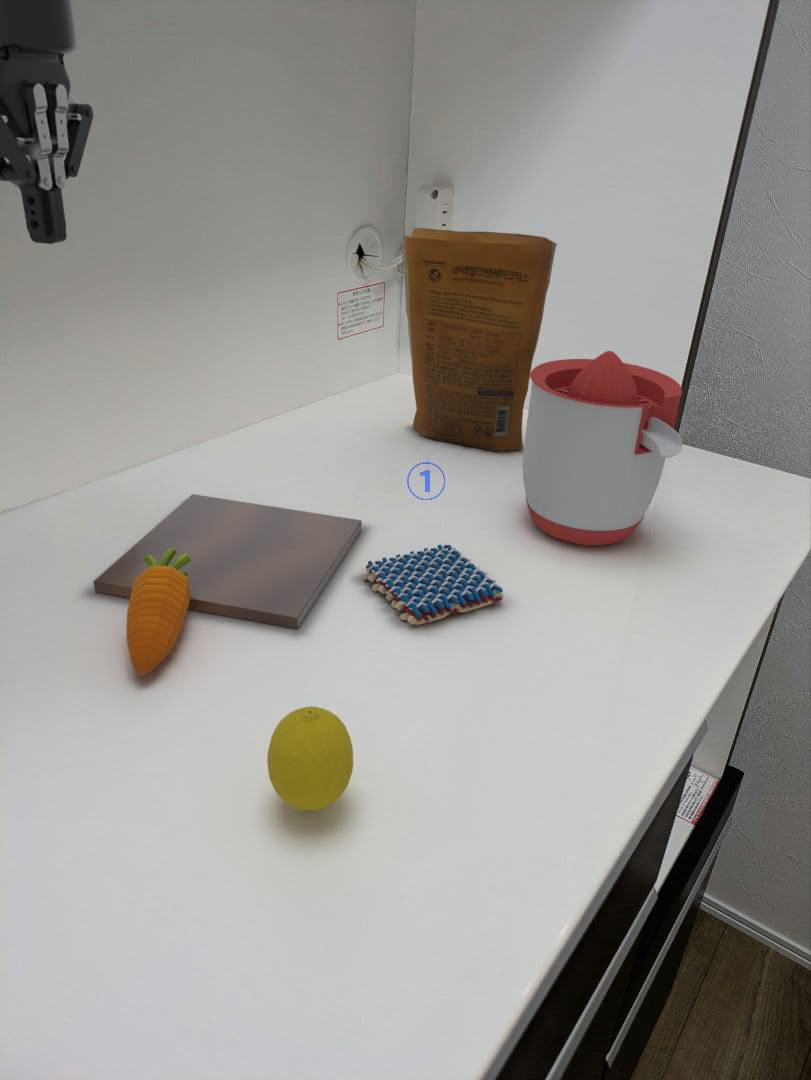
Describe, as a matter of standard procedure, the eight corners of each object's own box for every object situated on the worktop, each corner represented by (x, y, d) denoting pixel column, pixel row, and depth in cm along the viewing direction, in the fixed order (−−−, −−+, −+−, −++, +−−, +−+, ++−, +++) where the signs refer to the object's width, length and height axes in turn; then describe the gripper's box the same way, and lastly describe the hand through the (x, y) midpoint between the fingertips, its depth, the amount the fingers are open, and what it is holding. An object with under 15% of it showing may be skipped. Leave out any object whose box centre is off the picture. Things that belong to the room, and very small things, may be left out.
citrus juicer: (604, 580, 83) (640, 388, 74) (484, 515, 95) (502, 342, 86) (692, 538, 92) (735, 363, 83) (573, 483, 104) (598, 324, 95)
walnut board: (94, 592, 77) (93, 581, 77) (193, 503, 94) (192, 493, 94) (297, 629, 73) (297, 618, 73) (361, 529, 91) (361, 520, 90)
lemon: (252, 802, 55) (247, 709, 52) (317, 762, 59) (316, 672, 55) (304, 851, 52) (302, 755, 48) (369, 806, 56) (372, 714, 52)
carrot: (95, 662, 64) (133, 542, 75) (129, 702, 66) (160, 580, 78) (154, 644, 63) (182, 526, 75) (185, 686, 66) (208, 565, 78)
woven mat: (448, 555, 86) (449, 538, 85) (507, 605, 78) (509, 587, 77) (358, 576, 82) (359, 559, 81) (411, 632, 74) (412, 613, 73)
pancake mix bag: (523, 463, 109) (550, 240, 96) (391, 436, 116) (400, 223, 102) (536, 446, 115) (564, 233, 101) (410, 421, 121) (421, 218, 108)
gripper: (21, -20, 61) (57, 227, 70) (-118, -49, 50) (-56, 250, 58) (112, -18, 60) (138, 234, 68) (-10, -46, 49) (39, 260, 57)
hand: (48, 241), depth 63 cm, fingers closed
